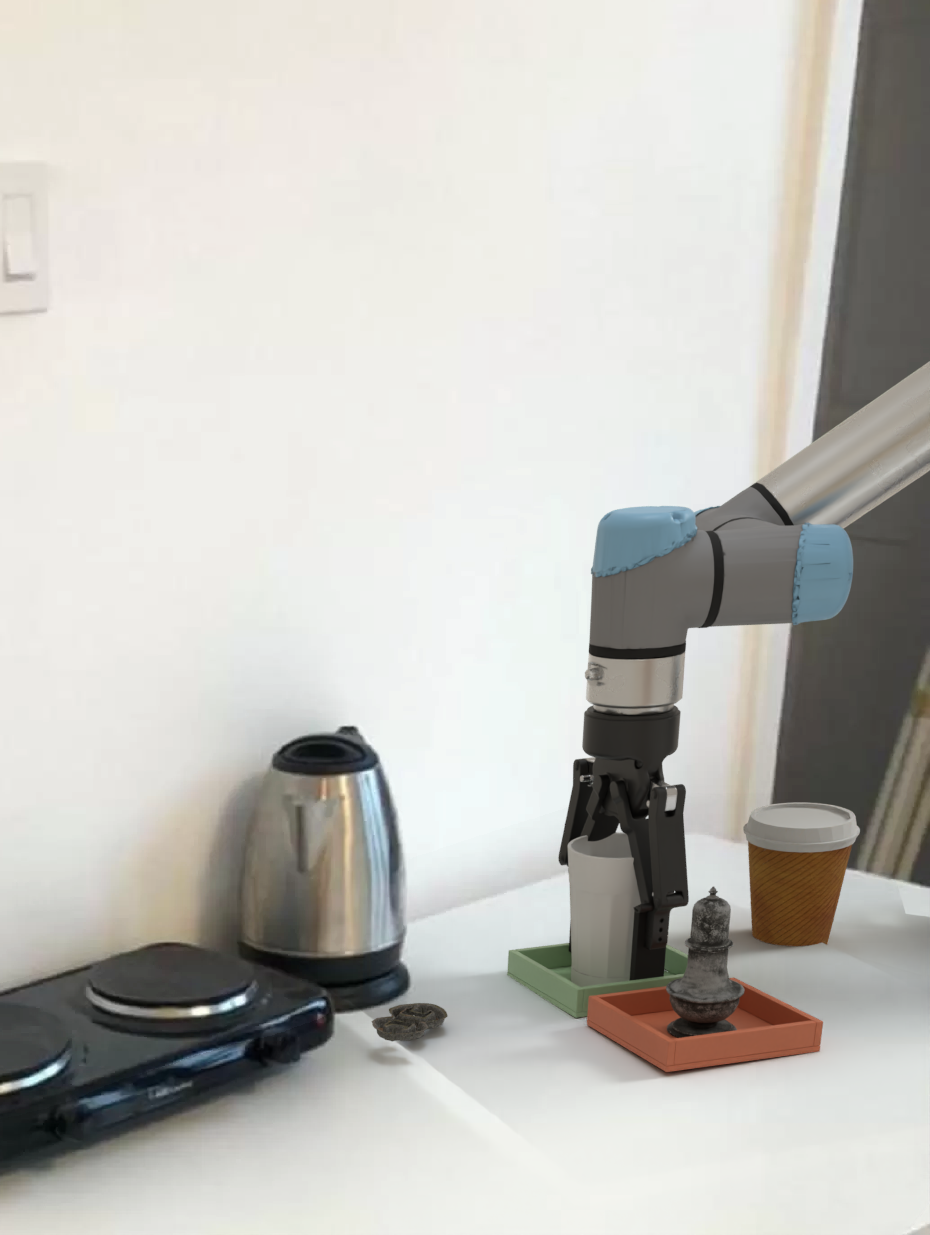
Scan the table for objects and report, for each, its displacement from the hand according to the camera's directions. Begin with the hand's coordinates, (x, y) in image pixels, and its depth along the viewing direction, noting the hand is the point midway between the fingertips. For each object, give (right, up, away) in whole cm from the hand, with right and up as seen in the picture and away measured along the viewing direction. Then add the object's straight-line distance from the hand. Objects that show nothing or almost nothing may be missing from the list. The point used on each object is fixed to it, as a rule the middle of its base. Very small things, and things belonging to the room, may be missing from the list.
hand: (614, 966), depth 176 cm
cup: (0, -1, +1) cm, 2 cm away
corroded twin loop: (-19, -6, -6) cm, 21 cm away
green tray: (0, -2, +1) cm, 2 cm away
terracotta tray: (+3, -7, -12) cm, 14 cm away
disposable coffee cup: (+19, +3, +9) cm, 21 cm away
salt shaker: (+3, -7, -12) cm, 14 cm away
